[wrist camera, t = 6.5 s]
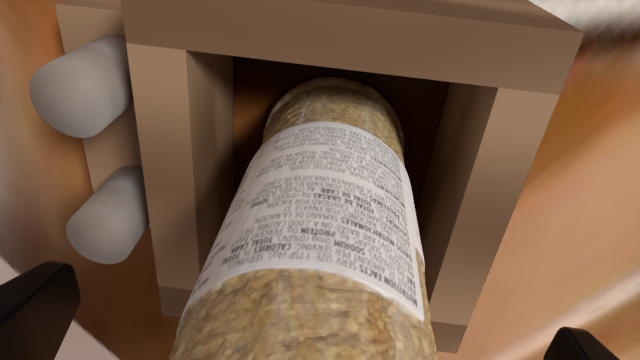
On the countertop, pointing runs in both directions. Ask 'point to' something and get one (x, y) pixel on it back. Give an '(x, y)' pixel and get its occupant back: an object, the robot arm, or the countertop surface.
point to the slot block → (310, 49)
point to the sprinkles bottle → (317, 242)
